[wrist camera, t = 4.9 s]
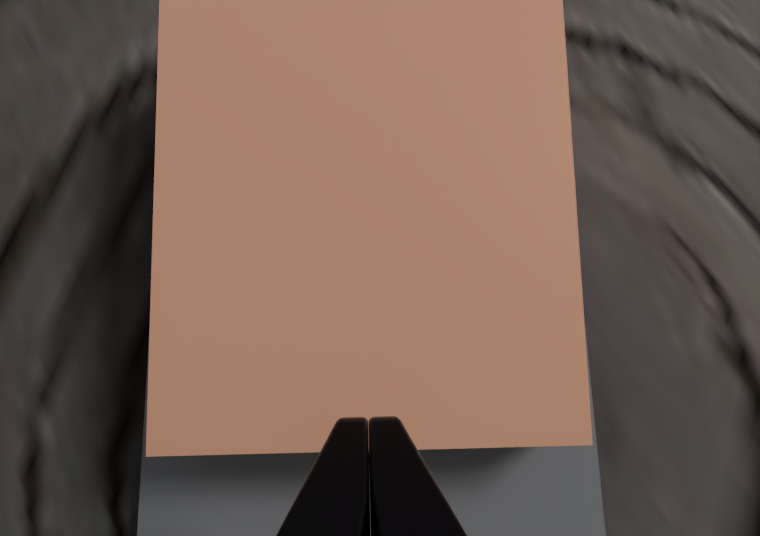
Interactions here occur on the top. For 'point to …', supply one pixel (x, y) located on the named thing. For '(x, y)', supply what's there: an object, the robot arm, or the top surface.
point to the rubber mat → (289, 471)
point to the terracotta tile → (364, 226)
